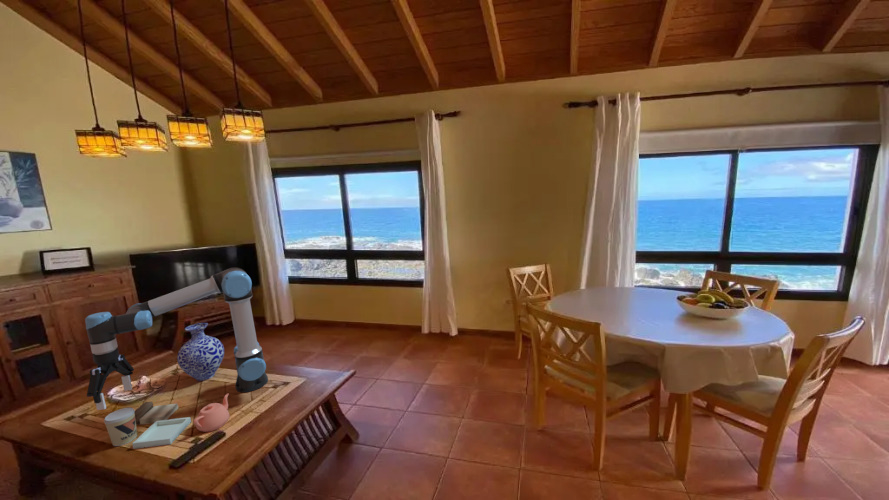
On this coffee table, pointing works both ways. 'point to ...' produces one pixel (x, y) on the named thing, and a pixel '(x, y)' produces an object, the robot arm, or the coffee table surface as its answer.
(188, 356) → the vase
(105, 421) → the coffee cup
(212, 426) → the teapot
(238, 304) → the robot arm
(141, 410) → the block
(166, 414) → the grey wooden square slab
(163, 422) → the tray
